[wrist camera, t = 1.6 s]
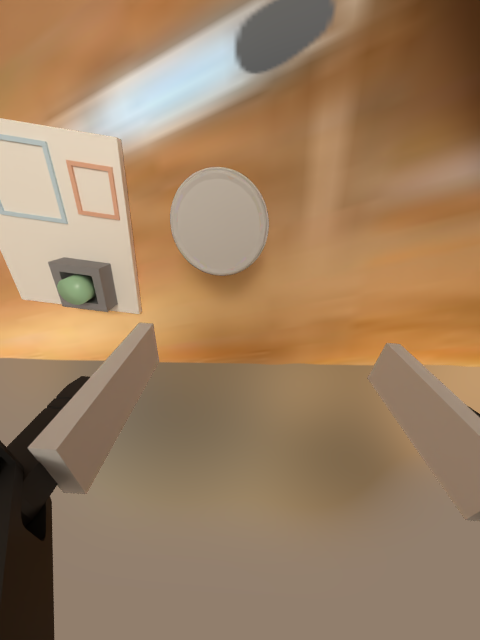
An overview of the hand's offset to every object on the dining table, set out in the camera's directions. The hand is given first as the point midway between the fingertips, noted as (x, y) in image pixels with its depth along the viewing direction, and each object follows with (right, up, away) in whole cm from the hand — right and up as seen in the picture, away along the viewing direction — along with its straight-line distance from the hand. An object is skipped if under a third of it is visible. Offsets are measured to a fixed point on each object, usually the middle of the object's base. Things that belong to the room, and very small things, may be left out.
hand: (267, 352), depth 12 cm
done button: (-26, +7, +20) cm, 33 cm away
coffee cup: (-3, +16, +17) cm, 24 cm away
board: (-28, +15, +19) cm, 37 cm away
